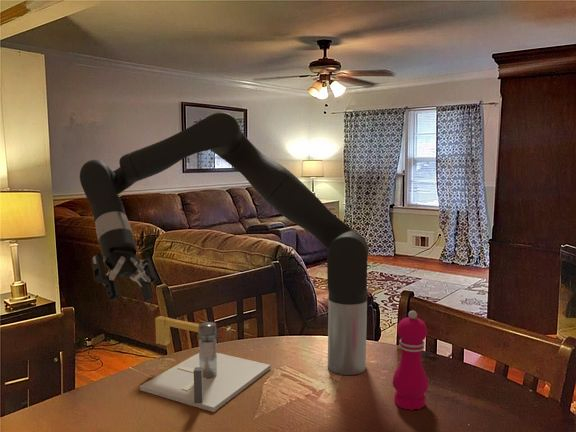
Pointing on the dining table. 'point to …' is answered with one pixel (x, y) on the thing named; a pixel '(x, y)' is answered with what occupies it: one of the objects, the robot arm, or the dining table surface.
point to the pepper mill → (411, 364)
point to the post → (208, 358)
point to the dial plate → (206, 381)
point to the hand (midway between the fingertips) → (132, 299)
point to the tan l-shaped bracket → (163, 328)
